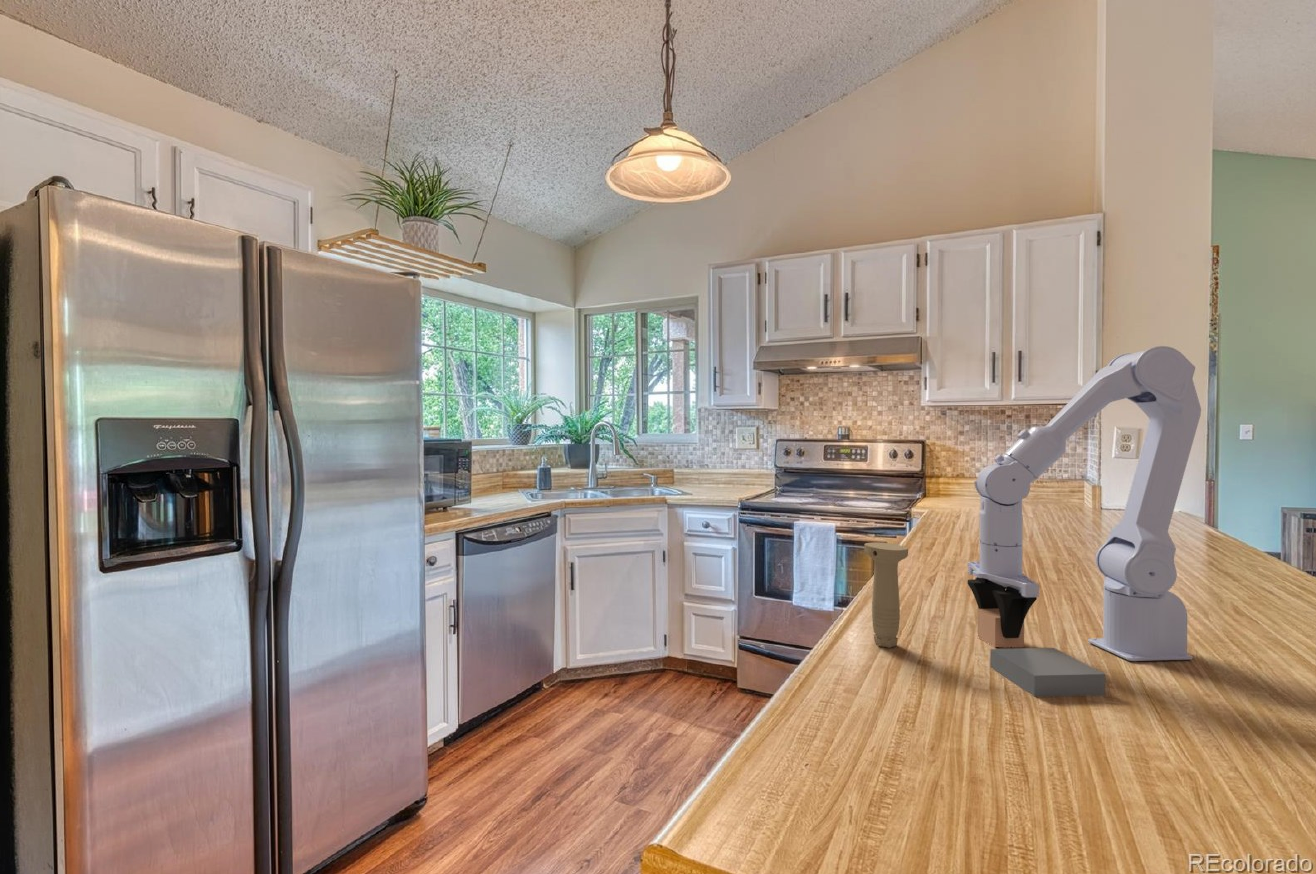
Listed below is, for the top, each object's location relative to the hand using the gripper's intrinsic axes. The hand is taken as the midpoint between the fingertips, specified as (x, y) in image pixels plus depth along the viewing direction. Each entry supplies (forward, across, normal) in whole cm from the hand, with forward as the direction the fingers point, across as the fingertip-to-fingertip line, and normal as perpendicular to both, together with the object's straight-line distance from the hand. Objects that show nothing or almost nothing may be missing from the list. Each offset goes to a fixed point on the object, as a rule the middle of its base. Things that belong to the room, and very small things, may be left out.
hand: (1000, 631), depth 93 cm
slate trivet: (+2, +14, -3) cm, 14 cm away
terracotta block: (+2, 0, 0) cm, 2 cm away
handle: (+2, 0, -18) cm, 18 cm away
